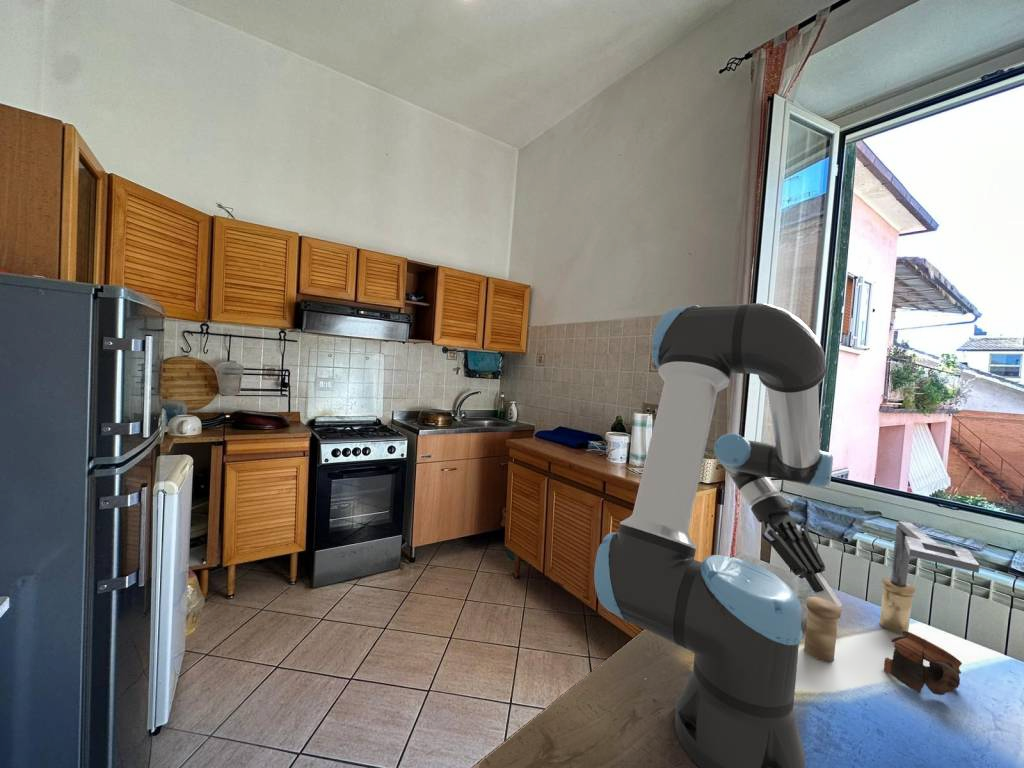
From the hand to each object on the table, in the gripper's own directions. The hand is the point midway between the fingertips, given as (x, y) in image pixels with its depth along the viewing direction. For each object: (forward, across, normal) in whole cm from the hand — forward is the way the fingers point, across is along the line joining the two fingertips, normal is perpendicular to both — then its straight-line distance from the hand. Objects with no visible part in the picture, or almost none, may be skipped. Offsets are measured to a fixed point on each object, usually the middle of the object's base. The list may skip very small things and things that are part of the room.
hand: (834, 607), depth 86 cm
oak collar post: (+6, +13, +1) cm, 14 cm away
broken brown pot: (+14, +3, +8) cm, 16 cm away
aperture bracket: (+10, -6, +5) cm, 13 cm away
